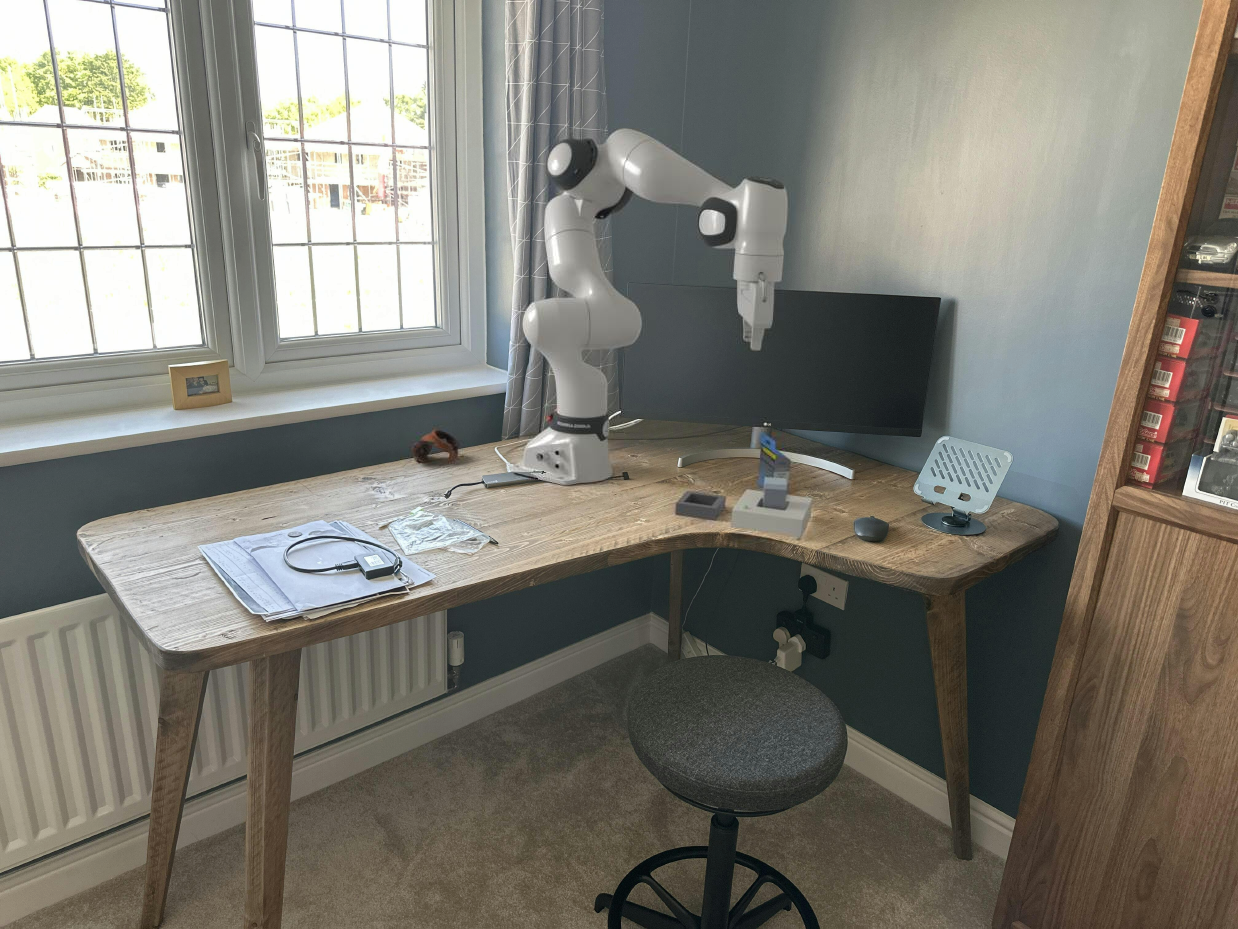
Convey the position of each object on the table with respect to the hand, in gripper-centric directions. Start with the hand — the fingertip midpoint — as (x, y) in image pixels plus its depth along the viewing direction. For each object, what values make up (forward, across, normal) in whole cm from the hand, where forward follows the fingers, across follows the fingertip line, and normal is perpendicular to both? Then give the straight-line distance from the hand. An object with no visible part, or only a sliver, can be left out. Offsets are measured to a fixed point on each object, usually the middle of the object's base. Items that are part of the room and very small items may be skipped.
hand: (751, 345), depth 157 cm
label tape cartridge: (+34, +12, -9) cm, 36 cm away
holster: (+33, -4, +8) cm, 34 cm away
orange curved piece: (+35, +27, +67) cm, 80 cm away
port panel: (+33, -8, -5) cm, 34 cm away
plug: (+32, -8, -6) cm, 34 cm away
